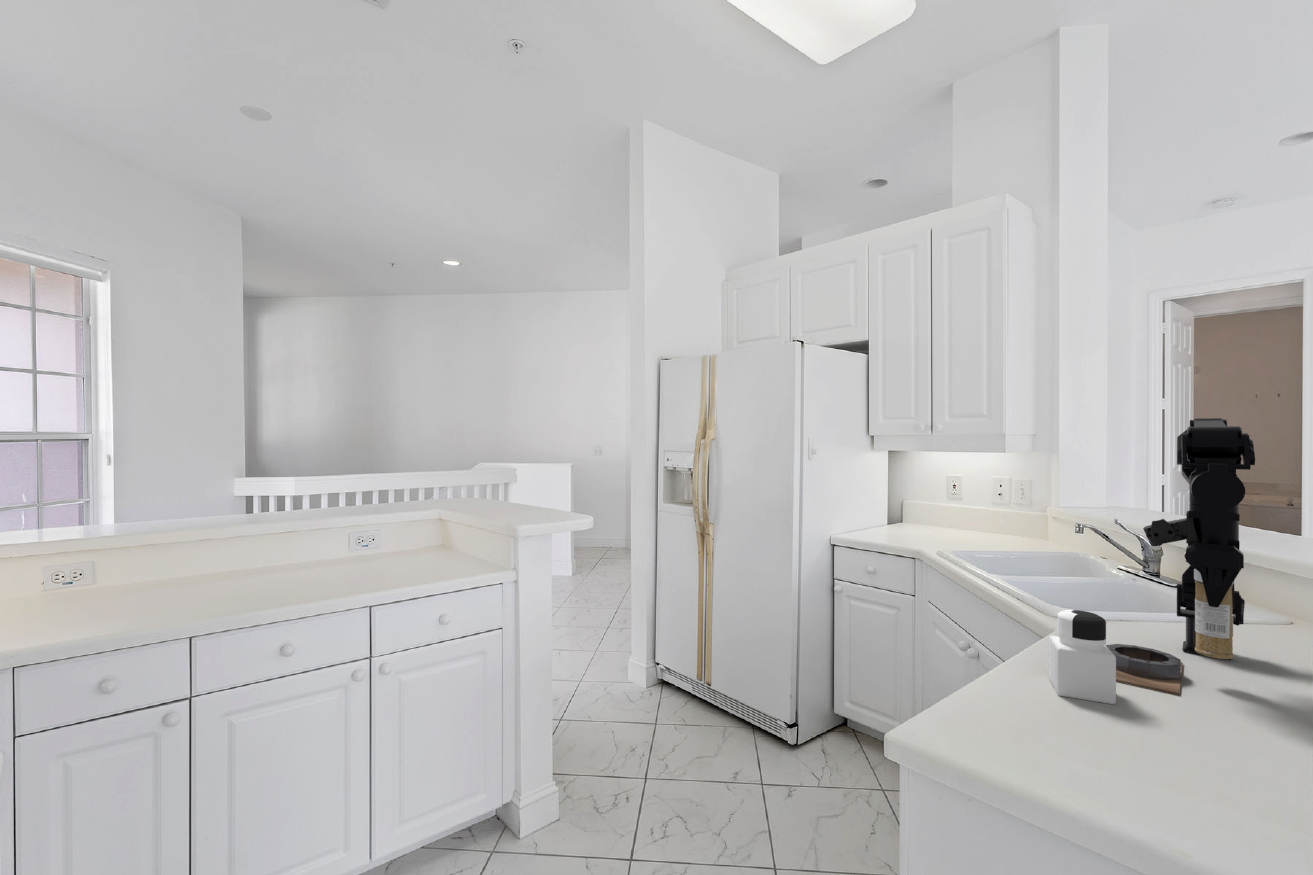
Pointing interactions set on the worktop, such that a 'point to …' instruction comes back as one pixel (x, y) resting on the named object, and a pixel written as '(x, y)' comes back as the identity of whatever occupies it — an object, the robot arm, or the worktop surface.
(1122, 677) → the walnut board
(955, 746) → the worktop surface
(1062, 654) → the medicine bottle
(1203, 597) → the sprinkles bottle
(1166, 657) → the iron collar
